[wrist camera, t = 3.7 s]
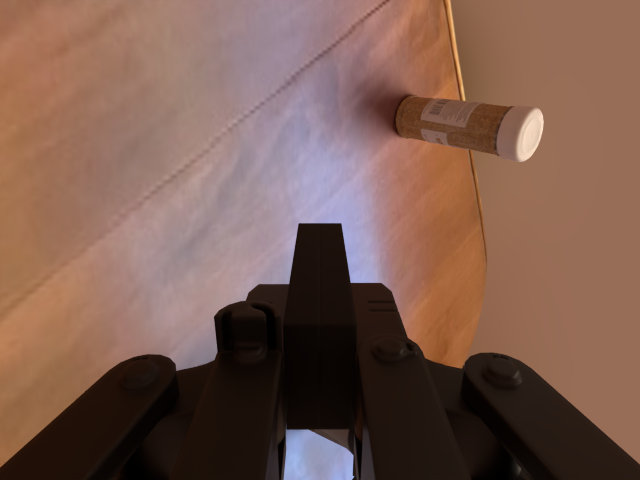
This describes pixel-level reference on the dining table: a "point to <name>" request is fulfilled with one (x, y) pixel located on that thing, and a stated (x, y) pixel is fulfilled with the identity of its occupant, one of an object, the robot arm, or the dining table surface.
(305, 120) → the dining table surface
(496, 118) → the sprinkles bottle
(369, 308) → the robot arm
